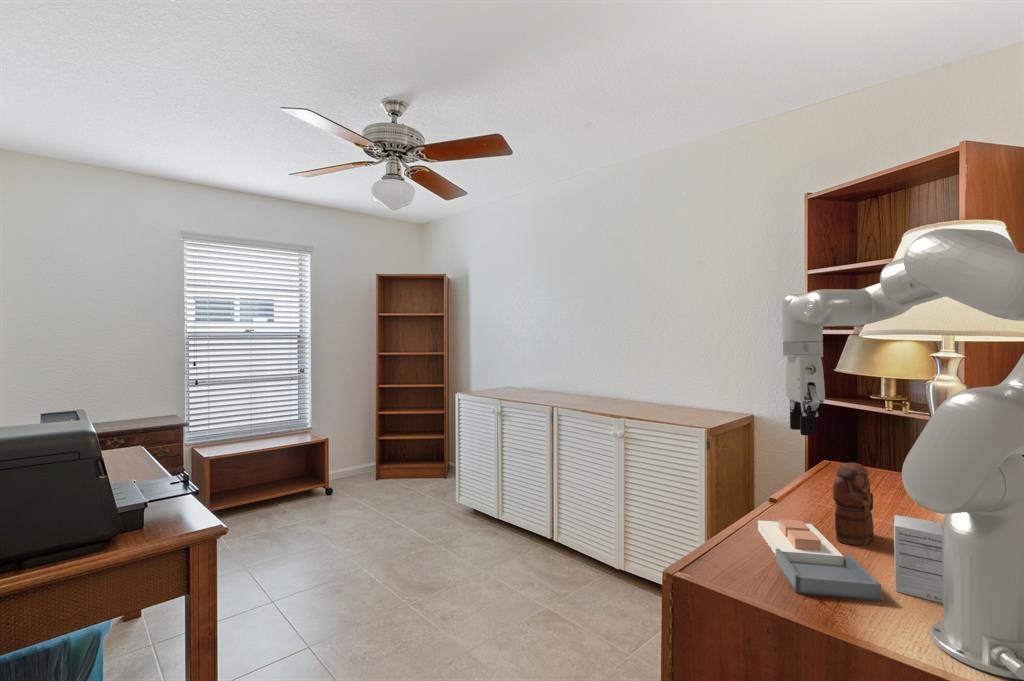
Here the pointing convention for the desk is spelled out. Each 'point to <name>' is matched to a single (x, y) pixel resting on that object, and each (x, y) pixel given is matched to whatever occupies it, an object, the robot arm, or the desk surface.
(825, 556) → the board
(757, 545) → the desk surface
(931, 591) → the supplement box
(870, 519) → the wooden figurine
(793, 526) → the tile back
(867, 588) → the tray
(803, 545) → the tile front
